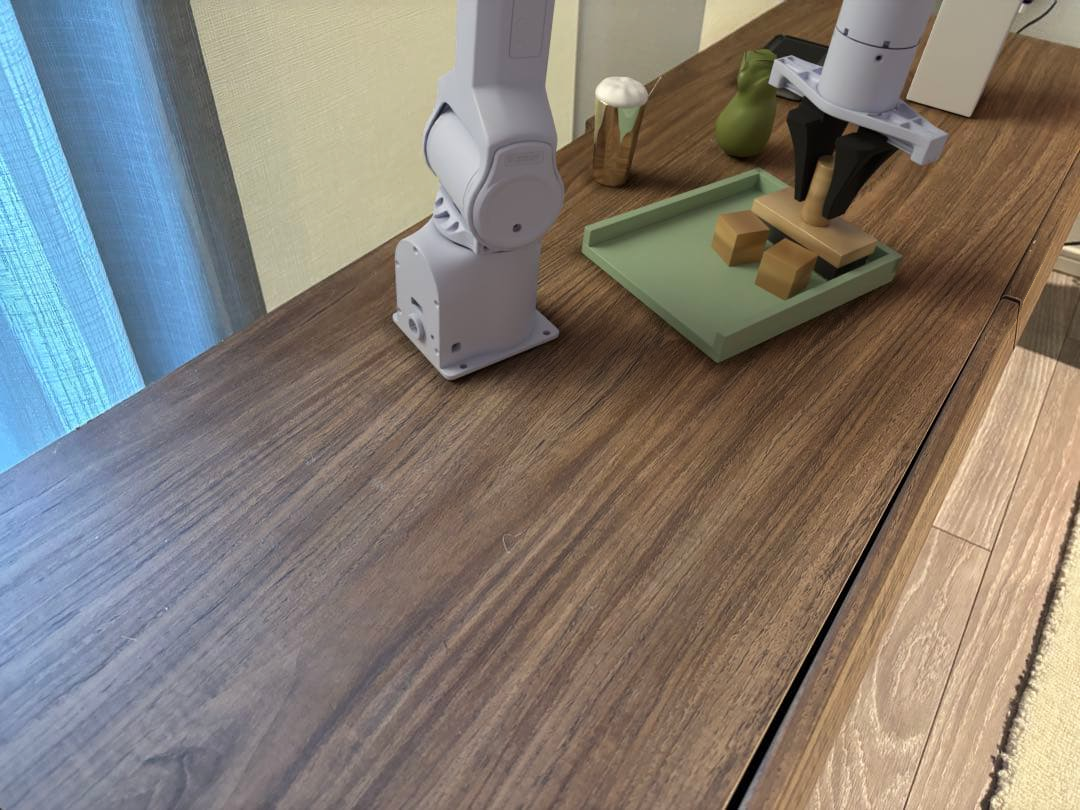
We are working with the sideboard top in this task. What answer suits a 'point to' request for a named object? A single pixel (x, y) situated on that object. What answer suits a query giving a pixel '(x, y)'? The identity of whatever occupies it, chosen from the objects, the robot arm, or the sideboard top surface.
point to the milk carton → (962, 53)
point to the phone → (796, 55)
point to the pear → (749, 107)
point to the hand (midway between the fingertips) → (819, 206)
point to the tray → (716, 269)
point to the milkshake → (617, 128)
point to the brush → (815, 225)
